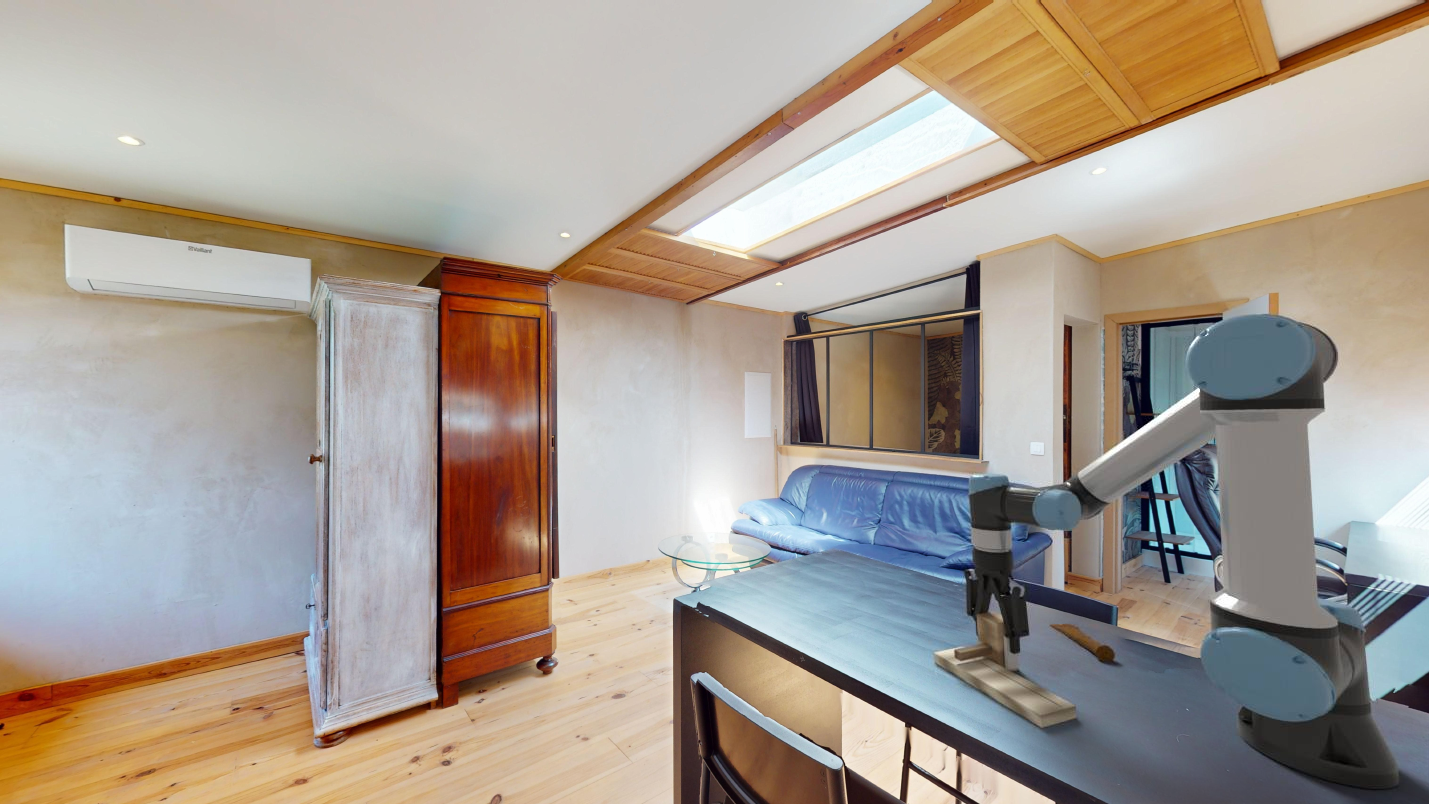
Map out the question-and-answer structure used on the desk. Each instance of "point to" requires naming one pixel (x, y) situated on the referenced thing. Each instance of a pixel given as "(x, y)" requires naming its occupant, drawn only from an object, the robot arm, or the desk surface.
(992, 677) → the board
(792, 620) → the desk surface
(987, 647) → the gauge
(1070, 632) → the primitive tool
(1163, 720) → the desk surface
